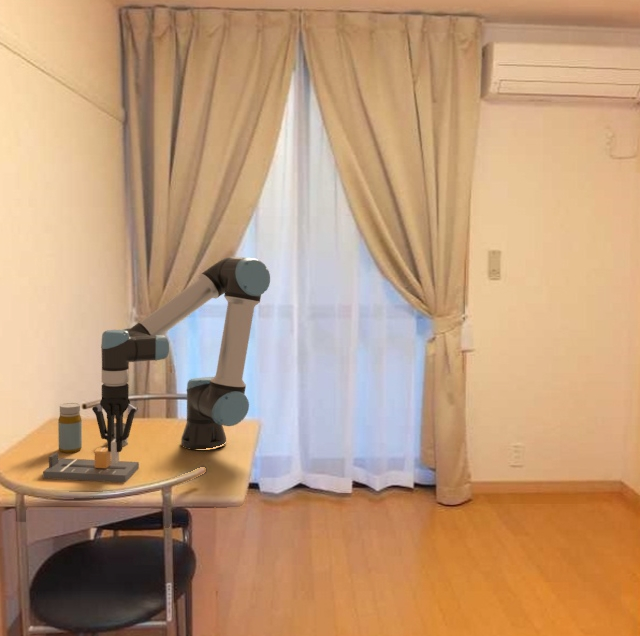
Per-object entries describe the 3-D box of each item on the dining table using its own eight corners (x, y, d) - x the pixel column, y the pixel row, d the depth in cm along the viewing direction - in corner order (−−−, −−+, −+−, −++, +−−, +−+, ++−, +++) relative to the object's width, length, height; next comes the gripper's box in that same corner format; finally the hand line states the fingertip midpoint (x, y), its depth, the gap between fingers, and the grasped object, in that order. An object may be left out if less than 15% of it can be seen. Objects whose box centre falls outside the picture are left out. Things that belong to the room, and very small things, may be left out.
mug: (128, 446, 226) (128, 427, 225) (107, 448, 224) (107, 428, 223) (126, 438, 235) (126, 419, 235) (106, 439, 233) (106, 420, 232)
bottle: (74, 454, 216) (73, 408, 214) (54, 452, 217) (53, 406, 216) (85, 448, 223) (85, 403, 221) (66, 446, 224) (66, 401, 223)
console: (138, 468, 205) (138, 452, 205) (125, 482, 193) (125, 465, 193) (60, 464, 206) (60, 448, 206) (43, 478, 194) (42, 461, 194)
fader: (111, 464, 201) (111, 447, 200) (106, 468, 197) (106, 451, 197) (98, 463, 201) (98, 447, 201) (94, 467, 197) (93, 450, 197)
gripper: (141, 381, 200) (140, 459, 202) (97, 379, 200) (97, 457, 203) (133, 387, 192) (132, 467, 195) (88, 385, 193) (88, 465, 195)
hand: (115, 462), depth 199 cm, fingers closed
